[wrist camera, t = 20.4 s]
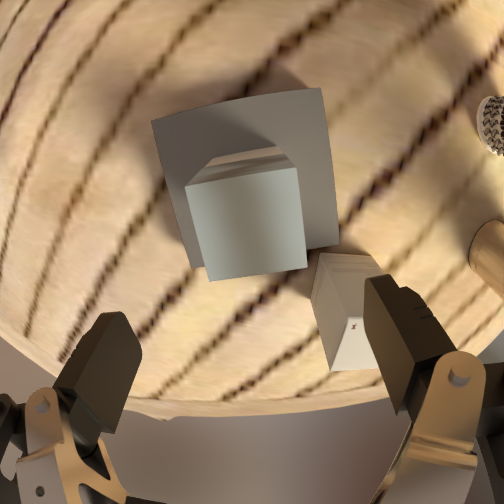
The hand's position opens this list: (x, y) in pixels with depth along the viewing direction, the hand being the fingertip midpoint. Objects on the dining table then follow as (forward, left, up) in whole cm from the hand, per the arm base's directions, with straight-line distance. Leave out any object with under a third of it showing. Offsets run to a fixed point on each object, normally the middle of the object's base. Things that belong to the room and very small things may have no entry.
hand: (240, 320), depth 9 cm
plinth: (0, 0, -24) cm, 24 cm away
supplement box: (-9, +15, -24) cm, 30 cm away
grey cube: (0, 0, -14) cm, 14 cm away
